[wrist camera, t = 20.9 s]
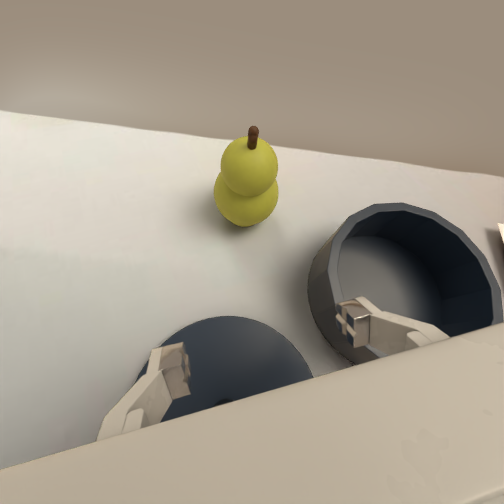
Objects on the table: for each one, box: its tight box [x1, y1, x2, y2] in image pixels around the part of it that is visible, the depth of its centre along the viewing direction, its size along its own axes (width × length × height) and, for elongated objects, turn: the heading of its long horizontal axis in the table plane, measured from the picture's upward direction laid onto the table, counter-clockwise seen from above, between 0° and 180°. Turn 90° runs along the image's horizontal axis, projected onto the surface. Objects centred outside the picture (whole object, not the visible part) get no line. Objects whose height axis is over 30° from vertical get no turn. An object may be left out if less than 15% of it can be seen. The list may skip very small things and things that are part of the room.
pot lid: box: [135, 316, 313, 423], centre depth 18 cm, size 15×15×5 cm
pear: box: [214, 126, 278, 227], centre depth 22 cm, size 6×6×10 cm
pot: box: [308, 203, 504, 365], centre depth 22 cm, size 14×14×6 cm
